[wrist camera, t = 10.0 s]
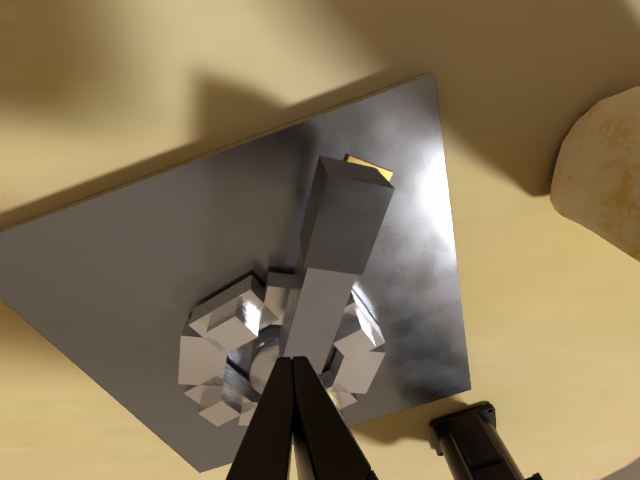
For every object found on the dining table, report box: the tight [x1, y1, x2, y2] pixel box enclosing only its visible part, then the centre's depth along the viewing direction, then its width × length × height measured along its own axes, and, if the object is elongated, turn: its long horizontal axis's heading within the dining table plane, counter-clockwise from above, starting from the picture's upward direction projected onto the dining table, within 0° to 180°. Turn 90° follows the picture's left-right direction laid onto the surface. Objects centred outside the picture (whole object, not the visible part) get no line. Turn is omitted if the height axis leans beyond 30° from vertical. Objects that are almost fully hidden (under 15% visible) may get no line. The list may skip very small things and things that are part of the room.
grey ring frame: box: [178, 155, 395, 426], centre depth 18 cm, size 21×13×5 cm, turn 166°
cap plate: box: [0, 73, 471, 473], centre depth 21 cm, size 26×26×3 cm
